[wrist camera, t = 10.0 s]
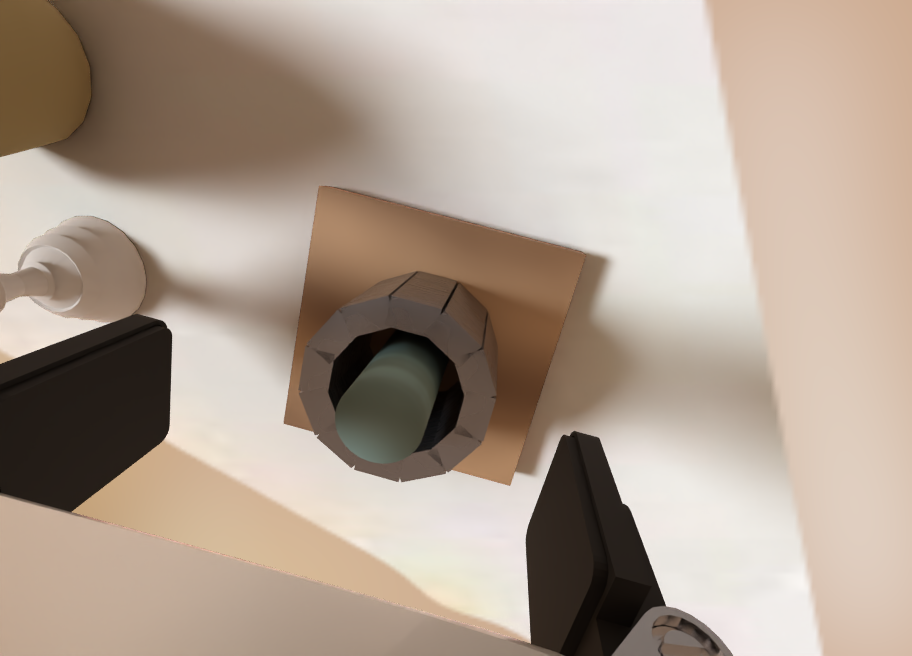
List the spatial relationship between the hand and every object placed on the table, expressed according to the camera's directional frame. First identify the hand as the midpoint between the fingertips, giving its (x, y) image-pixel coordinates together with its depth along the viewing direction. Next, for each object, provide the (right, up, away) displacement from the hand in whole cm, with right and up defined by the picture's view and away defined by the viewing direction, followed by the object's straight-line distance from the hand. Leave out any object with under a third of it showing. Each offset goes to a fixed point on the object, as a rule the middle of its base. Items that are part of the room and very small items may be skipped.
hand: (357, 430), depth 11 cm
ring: (+1, +2, +9) cm, 9 cm away
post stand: (+1, +2, +10) cm, 11 cm away
